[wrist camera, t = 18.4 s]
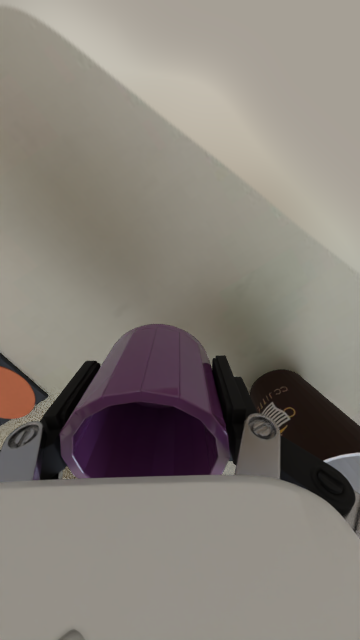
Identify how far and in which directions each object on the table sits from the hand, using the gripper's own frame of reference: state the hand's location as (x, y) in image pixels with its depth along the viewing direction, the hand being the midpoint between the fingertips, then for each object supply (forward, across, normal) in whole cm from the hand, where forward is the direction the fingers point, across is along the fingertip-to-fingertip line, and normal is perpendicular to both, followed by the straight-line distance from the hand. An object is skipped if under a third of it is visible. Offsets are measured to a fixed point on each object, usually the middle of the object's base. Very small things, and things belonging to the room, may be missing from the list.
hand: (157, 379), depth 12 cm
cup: (+1, 0, 0) cm, 1 cm away
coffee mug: (+9, -11, +10) cm, 18 cm away
